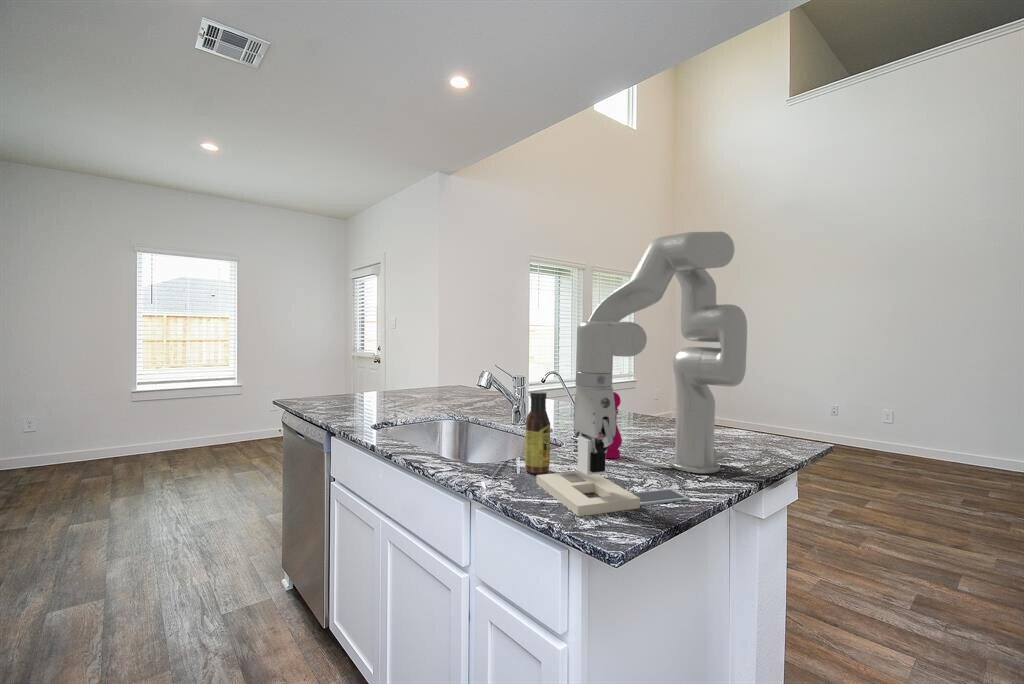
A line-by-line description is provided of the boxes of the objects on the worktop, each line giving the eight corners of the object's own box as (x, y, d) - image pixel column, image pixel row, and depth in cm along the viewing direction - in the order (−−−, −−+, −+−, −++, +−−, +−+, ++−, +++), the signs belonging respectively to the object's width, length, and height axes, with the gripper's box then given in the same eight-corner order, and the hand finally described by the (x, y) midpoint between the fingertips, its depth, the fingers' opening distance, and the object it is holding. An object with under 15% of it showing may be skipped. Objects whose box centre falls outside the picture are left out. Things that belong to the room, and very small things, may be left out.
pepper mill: (593, 457, 131) (594, 386, 130) (598, 451, 137) (599, 383, 137) (619, 460, 128) (620, 388, 128) (623, 454, 135) (624, 385, 134)
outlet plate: (590, 478, 113) (590, 469, 113) (639, 508, 94) (640, 497, 94) (536, 483, 108) (536, 474, 108) (577, 516, 89) (577, 505, 89)
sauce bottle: (547, 475, 114) (549, 394, 113) (522, 473, 115) (523, 393, 115) (551, 468, 120) (552, 391, 120) (527, 466, 121) (528, 390, 121)
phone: (671, 493, 105) (671, 488, 105) (689, 502, 99) (689, 497, 99) (624, 498, 101) (624, 493, 101) (639, 508, 95) (639, 503, 95)
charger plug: (594, 467, 100) (595, 433, 100) (605, 473, 96) (606, 438, 96) (577, 469, 99) (578, 434, 99) (587, 475, 95) (588, 439, 95)
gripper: (632, 385, 91) (630, 478, 91) (589, 376, 107) (587, 456, 107) (598, 385, 88) (596, 482, 89) (559, 377, 104) (557, 459, 104)
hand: (591, 467), depth 98 cm, fingers closed on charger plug, 4 cm apart
